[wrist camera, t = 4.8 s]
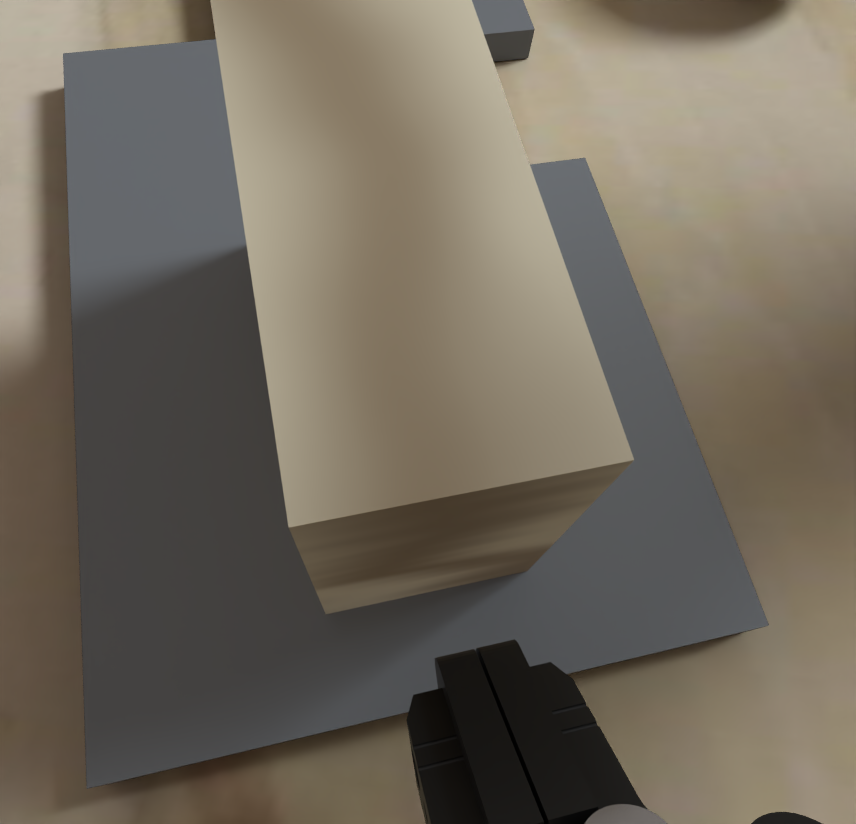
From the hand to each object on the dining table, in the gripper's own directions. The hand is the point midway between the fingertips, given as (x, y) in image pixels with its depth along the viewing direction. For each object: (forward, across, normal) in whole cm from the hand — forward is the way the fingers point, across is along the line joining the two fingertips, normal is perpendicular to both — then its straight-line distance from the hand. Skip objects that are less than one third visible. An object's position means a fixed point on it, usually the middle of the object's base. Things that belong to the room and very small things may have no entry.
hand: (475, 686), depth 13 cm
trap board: (+17, 0, -10) cm, 20 cm away
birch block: (+8, 0, -3) cm, 9 cm away
